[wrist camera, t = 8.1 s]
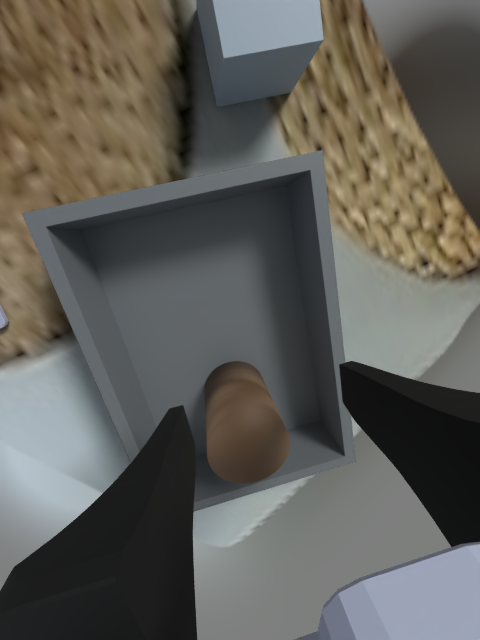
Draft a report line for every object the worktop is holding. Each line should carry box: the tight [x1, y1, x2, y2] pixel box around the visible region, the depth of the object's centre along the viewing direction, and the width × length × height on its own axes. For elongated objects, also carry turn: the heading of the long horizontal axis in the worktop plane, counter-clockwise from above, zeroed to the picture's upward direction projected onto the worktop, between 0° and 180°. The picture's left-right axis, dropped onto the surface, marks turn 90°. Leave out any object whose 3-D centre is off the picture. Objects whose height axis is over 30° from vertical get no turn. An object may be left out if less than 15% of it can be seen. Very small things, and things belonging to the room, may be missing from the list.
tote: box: [22, 150, 356, 512], centre depth 19 cm, size 16×22×5 cm
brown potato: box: [205, 361, 290, 484], centre depth 19 cm, size 5×5×7 cm
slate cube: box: [197, 0, 323, 107], centre depth 15 cm, size 5×5×5 cm
